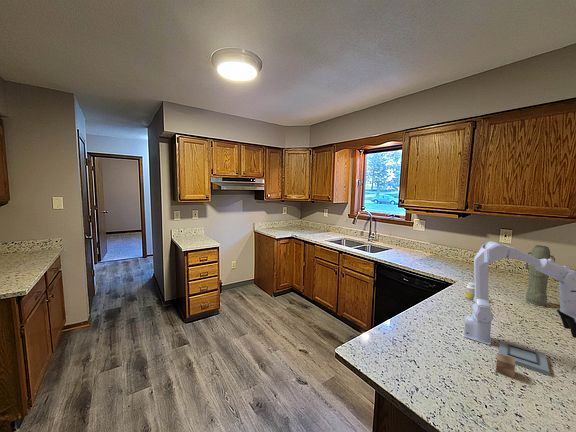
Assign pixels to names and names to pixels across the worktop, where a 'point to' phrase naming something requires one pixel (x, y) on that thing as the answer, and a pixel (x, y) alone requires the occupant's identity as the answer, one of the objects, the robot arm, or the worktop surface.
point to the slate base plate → (525, 357)
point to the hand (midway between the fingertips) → (572, 333)
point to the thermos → (538, 278)
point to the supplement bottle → (470, 291)
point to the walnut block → (505, 365)
